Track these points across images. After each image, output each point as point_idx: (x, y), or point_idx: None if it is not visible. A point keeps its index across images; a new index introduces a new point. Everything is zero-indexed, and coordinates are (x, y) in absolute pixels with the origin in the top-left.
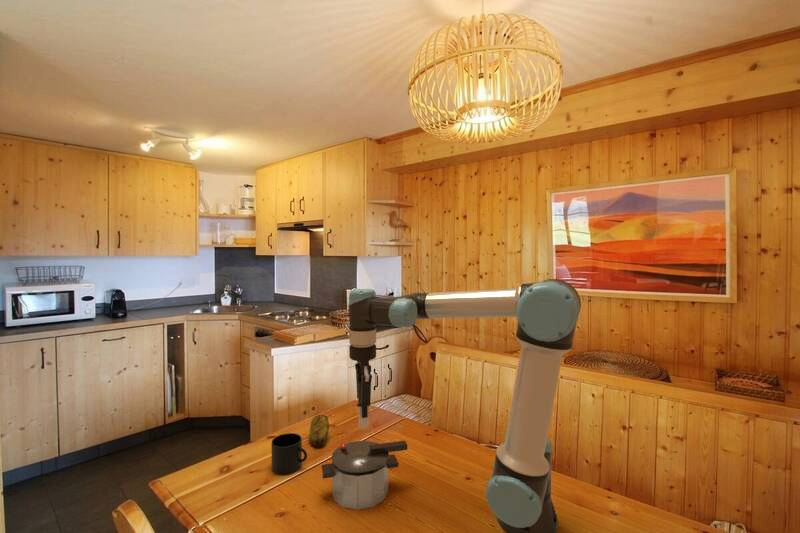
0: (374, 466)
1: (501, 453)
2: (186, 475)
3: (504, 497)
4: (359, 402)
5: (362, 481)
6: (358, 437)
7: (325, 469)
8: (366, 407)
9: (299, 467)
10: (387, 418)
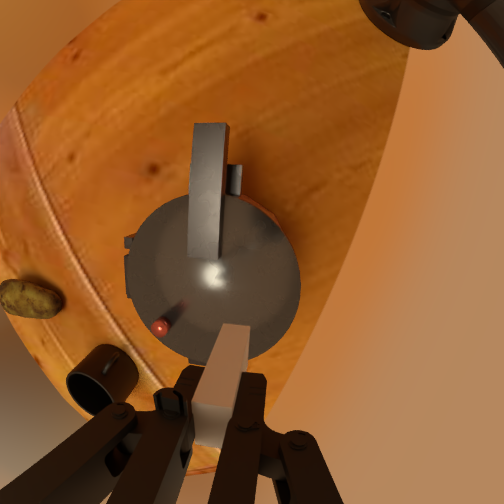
0: (298, 267)
1: None
2: None
3: None
4: (191, 445)
5: None
6: (40, 212)
7: None
8: (263, 423)
9: (122, 353)
10: (4, 137)
